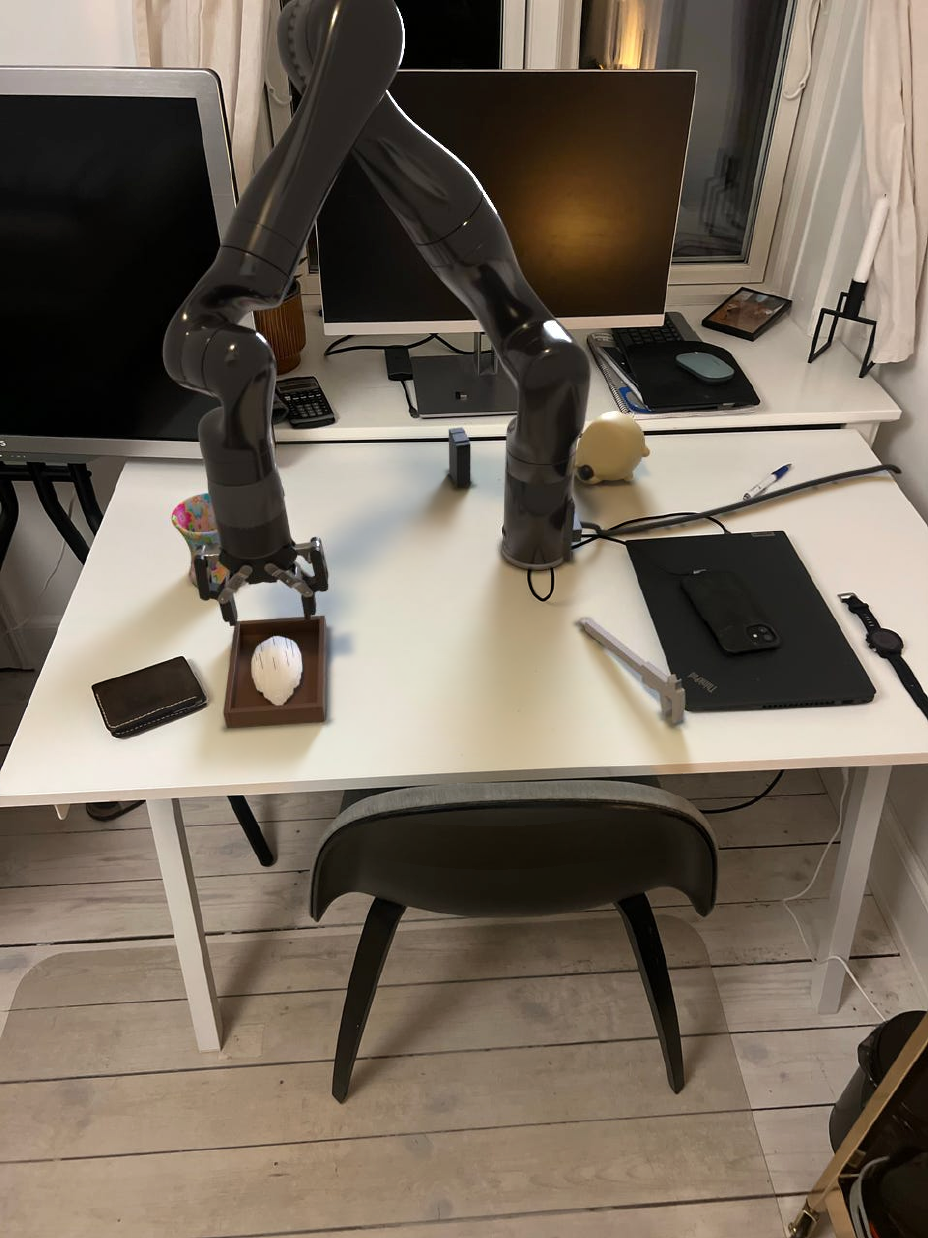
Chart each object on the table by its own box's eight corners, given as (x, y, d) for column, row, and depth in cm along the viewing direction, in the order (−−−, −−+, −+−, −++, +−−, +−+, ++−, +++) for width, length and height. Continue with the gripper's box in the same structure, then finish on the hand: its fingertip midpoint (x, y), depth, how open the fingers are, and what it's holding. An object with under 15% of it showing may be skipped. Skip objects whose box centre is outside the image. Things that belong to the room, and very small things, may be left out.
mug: (253, 594, 130) (240, 531, 123) (183, 598, 129) (166, 535, 122) (258, 540, 139) (247, 478, 132) (193, 544, 138) (178, 482, 131)
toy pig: (597, 477, 157) (551, 441, 152) (652, 427, 152) (606, 387, 147) (608, 511, 150) (560, 473, 145) (666, 458, 144) (619, 418, 139)
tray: (326, 630, 125) (324, 615, 123) (325, 721, 113) (322, 706, 111) (238, 635, 124) (234, 620, 122) (226, 728, 112) (223, 713, 110)
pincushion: (252, 642, 122) (245, 609, 118) (301, 637, 123) (295, 603, 119) (253, 711, 113) (246, 677, 109) (305, 705, 114) (300, 671, 110)
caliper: (681, 724, 112) (690, 686, 108) (674, 727, 112) (682, 690, 108) (585, 620, 126) (589, 584, 122) (578, 623, 125) (582, 586, 121)
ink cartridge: (471, 486, 149) (471, 442, 143) (456, 489, 148) (456, 444, 143) (463, 469, 152) (463, 425, 147) (449, 471, 152) (448, 427, 147)
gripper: (175, 530, 97) (206, 645, 108) (316, 519, 98) (333, 635, 109) (183, 488, 103) (212, 602, 114) (317, 478, 104) (333, 592, 115)
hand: (271, 618), depth 112 cm, fingers open, 8 cm apart
